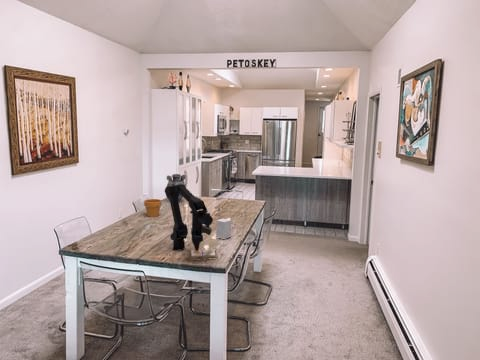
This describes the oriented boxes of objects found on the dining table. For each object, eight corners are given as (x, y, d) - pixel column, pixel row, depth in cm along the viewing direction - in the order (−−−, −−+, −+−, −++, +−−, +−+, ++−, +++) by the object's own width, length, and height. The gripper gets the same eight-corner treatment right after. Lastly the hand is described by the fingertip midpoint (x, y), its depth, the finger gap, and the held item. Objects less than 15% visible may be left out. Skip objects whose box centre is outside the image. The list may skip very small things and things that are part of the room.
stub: (191, 256, 200) (191, 246, 199) (191, 251, 208) (191, 241, 208) (202, 256, 201) (202, 246, 200) (201, 250, 209) (201, 241, 209)
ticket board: (185, 260, 198) (185, 256, 198) (185, 252, 210) (185, 249, 209) (217, 259, 201) (217, 255, 200) (215, 252, 213) (215, 248, 212)
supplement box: (231, 238, 242) (231, 220, 240) (223, 240, 236) (223, 222, 234) (223, 235, 246) (223, 218, 245) (215, 237, 241) (216, 219, 239)
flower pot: (140, 216, 291) (140, 201, 289) (150, 213, 304) (150, 198, 302) (155, 218, 286) (155, 203, 285) (164, 215, 300) (164, 199, 298)
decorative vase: (180, 199, 367) (180, 172, 363) (190, 202, 353) (190, 175, 349) (161, 201, 353) (162, 174, 349) (171, 205, 339) (171, 176, 335)
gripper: (212, 226, 194) (211, 253, 196) (209, 217, 212) (209, 242, 215) (192, 226, 192) (191, 253, 195) (191, 217, 211) (190, 243, 213)
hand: (196, 248), depth 204 cm, fingers open, 9 cm apart
